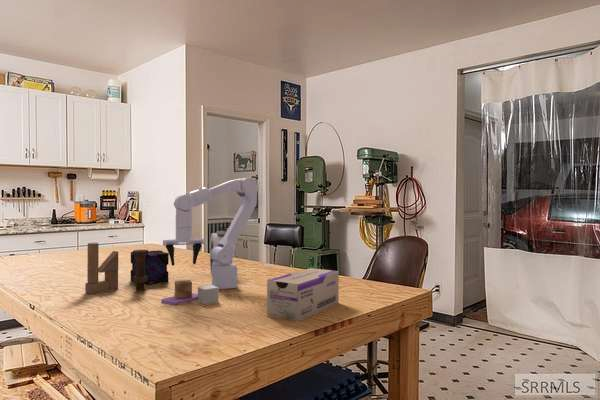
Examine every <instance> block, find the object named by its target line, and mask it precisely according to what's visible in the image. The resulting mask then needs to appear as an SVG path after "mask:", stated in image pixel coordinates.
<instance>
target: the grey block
mask: <svg viewBox="0 0 600 400" xmlns="http://www.w3.org/2000/svg"><path fill="white" fill-rule="evenodd" d="M219 290H220V289H219V288H218V287H216V286H213V285H211V284H209V285H203V286H202V285H201V286H197V294H198V299H197V302H198V303H200V304H201V305H204V306H206V305H211V304H212V305H213V304H217V303H219V295H220V294H219V292H220V291H219Z"/></svg>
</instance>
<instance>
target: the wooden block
mask: <svg viewBox="0 0 600 400" xmlns="http://www.w3.org/2000/svg"><path fill="white" fill-rule="evenodd" d="M99 248H100V247H99V242H88V243H87V269H86V270H87V272H86V273H87V279H86V281H87V282H86V283H85V284H84V285H85V286H84V287H85V289H84V291H85V293H86V294H89V295H93V294H98V293H103V292H108V291H110V290H111V291H116V290H118V289H119V251H117V250H113V251H112V252H110V253H109V255H108V256H107V258H106V259H104V261H103V262H101V264H100V265H99V260H100V259H99V258H100V257H99V256H100V255H99V251H100V250H99ZM100 273H101V274H102V273H104V280H99V274H100Z"/></svg>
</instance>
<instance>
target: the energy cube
mask: <svg viewBox="0 0 600 400" xmlns="http://www.w3.org/2000/svg"><path fill="white" fill-rule="evenodd" d="M148 251H149V254H147V255H146V256H145V275H146V276H147V277H148V280H147V281H146V282H145V286H149V285H150V284H157V285H158V284H168V283H169V271H168V265H169V264H170V263H169V260H170V255H169V253H168V252H166V251H165V252H164V251H163V250H161V249H160V250H148ZM130 263H131V270H130V282H131V281H132V282H131V283H133V282H134V281H133V277H134V276H136V255H132V251H130ZM134 285H136V282H135V283H134Z"/></svg>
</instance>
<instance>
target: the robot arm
mask: <svg viewBox="0 0 600 400" xmlns="http://www.w3.org/2000/svg"><path fill="white" fill-rule="evenodd" d="M258 191H259V186H258V183H257V181H256V179H254V178H253V177H245V178H242V177H241V178H240V177H239V178H237V179H232V180H228V181H225V182H223V183H221V184H218V185H216V186H212V187H211V188H207V187H206V186H204V187H202V186H199V187H197V189H195V190H193V191H187V192H185V194H182V195H181V194H179V195H178V196H177V197H175V199H174V202H173V207H174V208H175V239H163V240H162V246H164V247H165V248H166V250H167V253H169V260H170V261H171V263H170V264H171V266H175V247H174V246H185V245H186V246H187V245H189V246H191V245H192V264H193V265H196V264H197V259H198V256H199V253H200V251H201V248H202V245H205V239H204V238H193V237H192V236H193V234H192V232H193V231H192V230H193V229H192V228H193V226H192V225H193V218H192V217H193V216H192V210H193V209H194V208H195V207H199V206H201V205H203V204H206V203H209V202H210V201H211V200H212V198H213V197H215V196H218V195H221V194H224V193H227V192H236V194H237V196H239V198H240V201H241V205H240V206H239V209H238V211H237V212H236V214H235V216H234V218H233V219H232V221H231V223H230V225H229V227H228V228H227V230H226V231H225V233H226V234H225V235H224V237H223V238H222V239H221V240H220V241H219V242H218V244H217V245H216V246H215V247H213V248H212V250H211V252H210V251H209V257H210V256H211V258H212V260H213V262H212V275H211V284H210V285H213V286H216V287H218V288H219V290H226V289H238V287H239V286H238V266H237V264H236V263H232V264H231V261H232V262H233V259H234V253H235V250H236V243H237V241H238V240H239V238H240V236H241V234H242V232H243V230H244V228H245V227H246V225H247V223H248V221H249V219H250V218H251V216H252V214H253V212H254V210H255V208H256V206H257V204H258Z"/></svg>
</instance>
